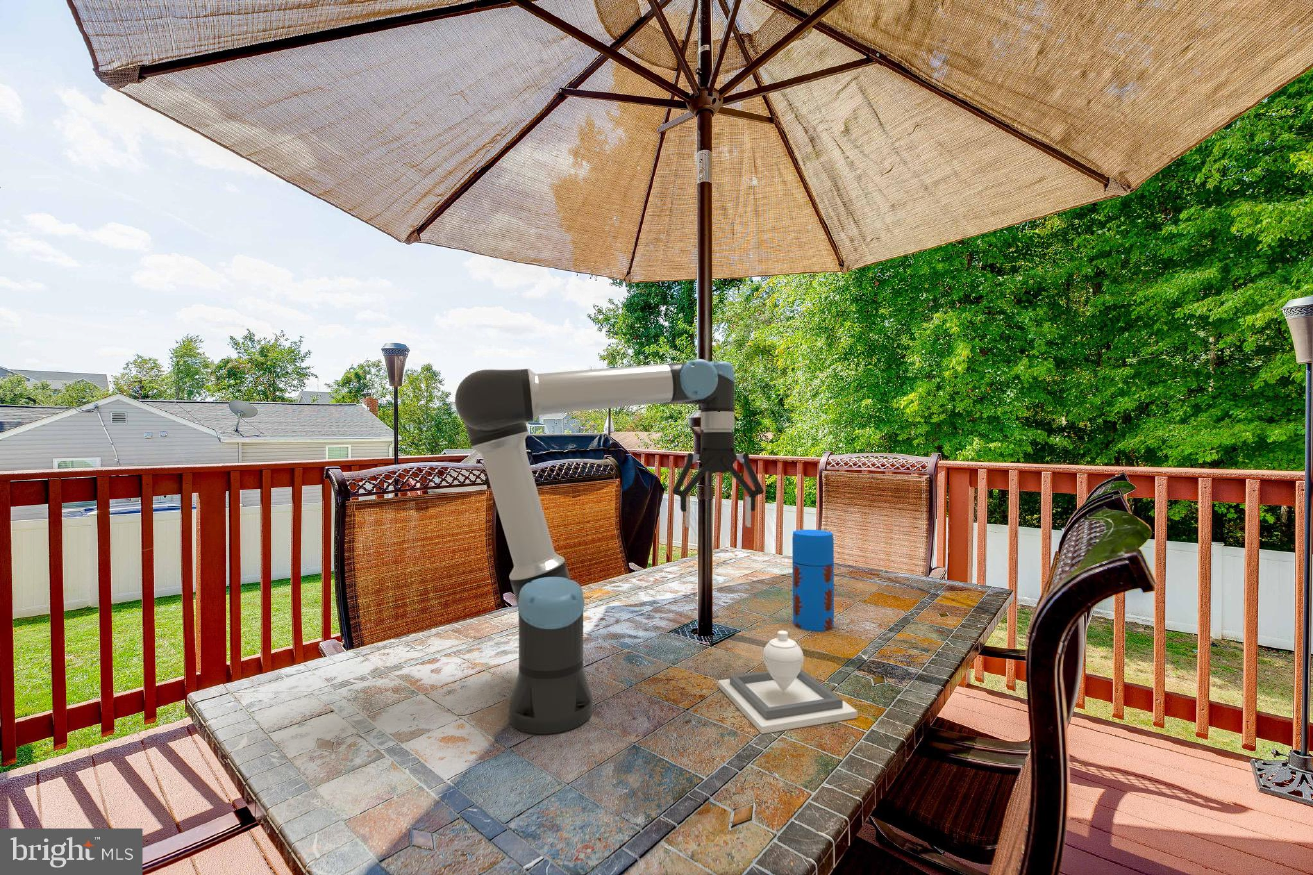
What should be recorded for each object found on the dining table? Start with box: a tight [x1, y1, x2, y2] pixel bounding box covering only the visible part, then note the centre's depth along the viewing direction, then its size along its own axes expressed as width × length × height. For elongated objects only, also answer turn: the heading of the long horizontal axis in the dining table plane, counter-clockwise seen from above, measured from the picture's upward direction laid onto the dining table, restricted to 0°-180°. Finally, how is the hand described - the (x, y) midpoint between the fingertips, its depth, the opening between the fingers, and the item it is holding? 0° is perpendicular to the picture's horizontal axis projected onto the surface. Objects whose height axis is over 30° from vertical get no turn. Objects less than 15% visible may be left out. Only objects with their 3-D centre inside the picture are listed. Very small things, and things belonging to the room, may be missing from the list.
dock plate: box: [717, 668, 858, 735], centre depth 105 cm, size 19×19×3 cm
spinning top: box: [762, 630, 805, 695], centre depth 105 cm, size 8×8×12 cm
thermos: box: [791, 529, 835, 632], centre depth 149 cm, size 11×11×25 cm
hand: (717, 526), depth 123 cm, fingers open, 13 cm apart
